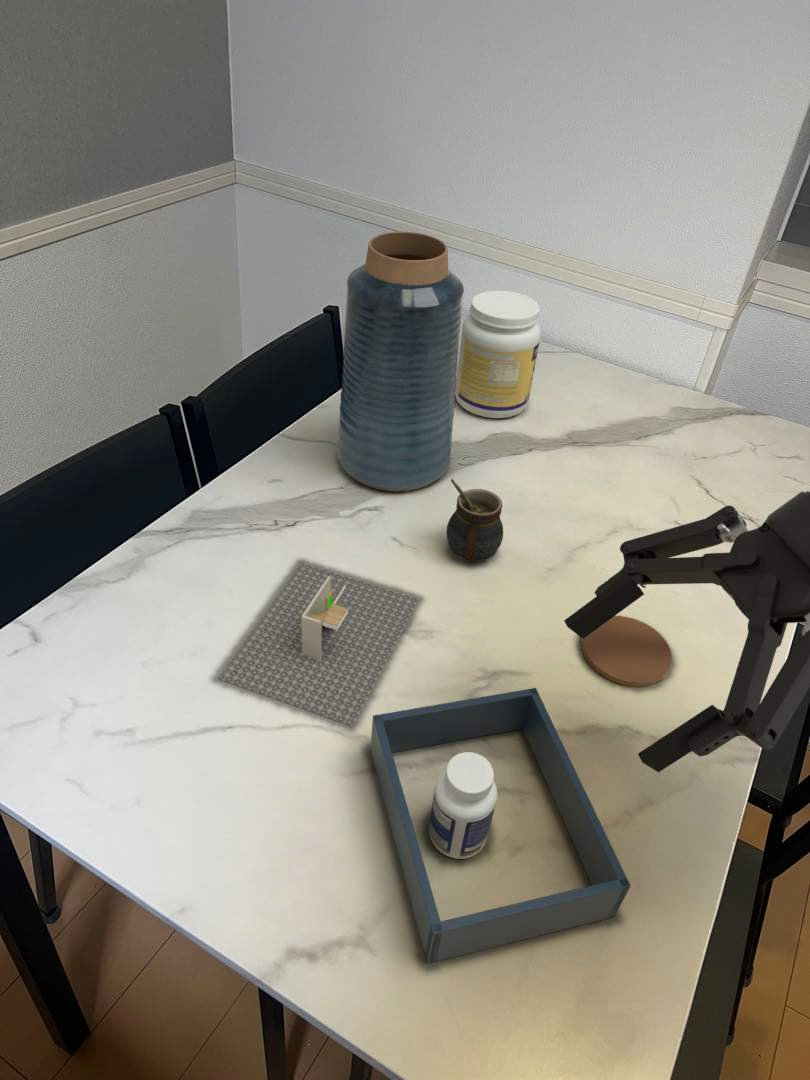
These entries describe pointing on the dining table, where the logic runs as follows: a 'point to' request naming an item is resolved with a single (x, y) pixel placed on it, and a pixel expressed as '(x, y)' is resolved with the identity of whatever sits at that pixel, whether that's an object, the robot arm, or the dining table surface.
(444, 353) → the vase
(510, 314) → the supplement tub
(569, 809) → the blue bottomless tray frame
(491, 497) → the mate gourd
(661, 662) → the coaster
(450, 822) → the pill bottle
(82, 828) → the dining table surface
